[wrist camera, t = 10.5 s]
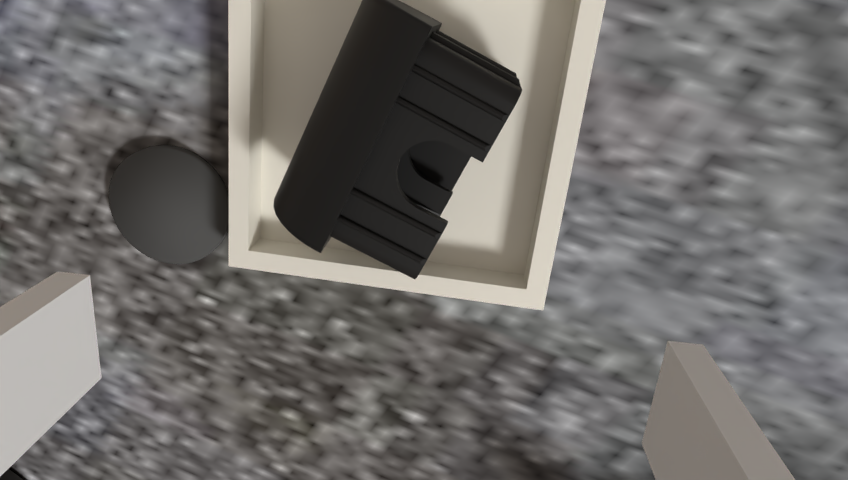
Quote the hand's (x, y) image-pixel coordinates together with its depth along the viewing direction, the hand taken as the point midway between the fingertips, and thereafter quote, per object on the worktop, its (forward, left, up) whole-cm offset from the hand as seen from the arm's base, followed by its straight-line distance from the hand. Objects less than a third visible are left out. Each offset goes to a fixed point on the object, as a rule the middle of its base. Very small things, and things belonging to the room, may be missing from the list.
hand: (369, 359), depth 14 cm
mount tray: (-2, +2, -18) cm, 18 cm away
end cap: (-2, +2, -18) cm, 18 cm away
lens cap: (-14, -4, -19) cm, 23 cm away
